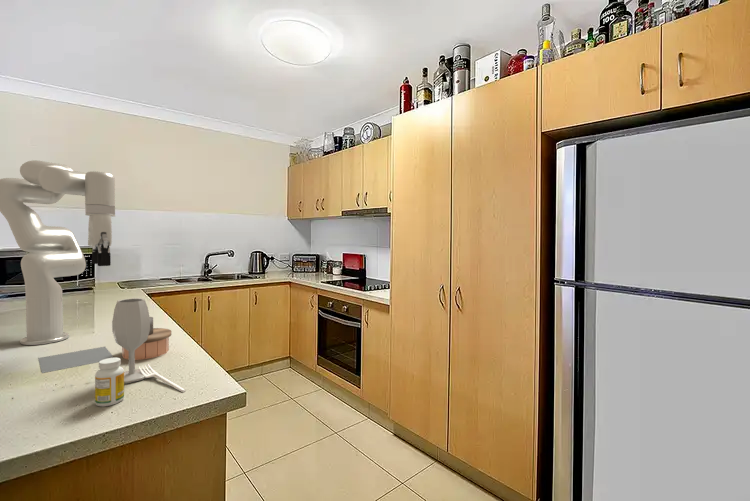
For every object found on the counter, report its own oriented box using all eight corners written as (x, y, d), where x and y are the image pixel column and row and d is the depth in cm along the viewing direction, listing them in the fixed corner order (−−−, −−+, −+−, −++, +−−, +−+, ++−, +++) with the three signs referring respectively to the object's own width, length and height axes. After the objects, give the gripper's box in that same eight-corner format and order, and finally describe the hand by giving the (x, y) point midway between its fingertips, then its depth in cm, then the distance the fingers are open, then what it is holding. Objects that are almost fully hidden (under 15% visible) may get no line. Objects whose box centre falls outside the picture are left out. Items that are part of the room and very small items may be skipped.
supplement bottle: (98, 409, 78) (97, 366, 77) (92, 401, 81) (91, 360, 81) (127, 401, 82) (127, 360, 81) (120, 394, 85) (120, 354, 85)
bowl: (118, 355, 112) (118, 336, 111) (161, 347, 120) (161, 329, 120) (128, 365, 103) (127, 345, 103) (173, 356, 112) (173, 337, 112)
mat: (38, 361, 106) (38, 357, 105) (105, 349, 117) (105, 346, 117) (42, 376, 94) (41, 373, 94) (115, 362, 106) (115, 358, 106)
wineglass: (158, 375, 97) (157, 299, 96) (124, 387, 89) (123, 304, 88) (138, 369, 101) (137, 296, 100) (104, 380, 93) (103, 301, 92)
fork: (177, 395, 86) (177, 388, 86) (136, 373, 96) (137, 366, 96) (190, 391, 88) (190, 383, 88) (149, 369, 99) (149, 363, 99)
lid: (113, 336, 111) (113, 317, 111) (163, 328, 121) (163, 311, 121) (124, 347, 102) (124, 326, 101) (177, 337, 112) (177, 318, 111)
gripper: (81, 211, 116) (82, 263, 117) (89, 209, 104) (90, 267, 105) (109, 212, 122) (110, 262, 122) (120, 211, 110) (121, 266, 110)
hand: (101, 264), depth 114 cm, fingers open, 9 cm apart
